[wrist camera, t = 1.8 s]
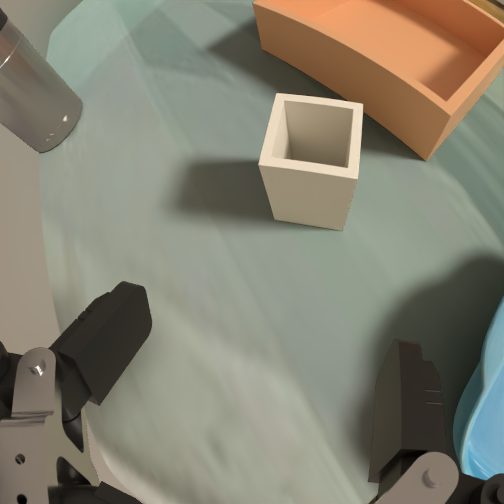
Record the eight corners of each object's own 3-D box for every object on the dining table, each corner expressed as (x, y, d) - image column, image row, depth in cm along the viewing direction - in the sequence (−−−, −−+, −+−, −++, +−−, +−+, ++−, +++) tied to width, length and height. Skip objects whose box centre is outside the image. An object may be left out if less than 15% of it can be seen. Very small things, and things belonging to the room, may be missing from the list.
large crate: (262, 49, 32) (252, 2, 25) (369, -9, 33) (371, -45, 27) (426, 161, 26) (451, 115, 19) (500, 71, 27) (518, 35, 20)
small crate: (342, 231, 25) (357, 179, 17) (274, 219, 27) (258, 164, 18) (350, 170, 27) (363, 103, 18) (287, 161, 28) (276, 93, 19)
